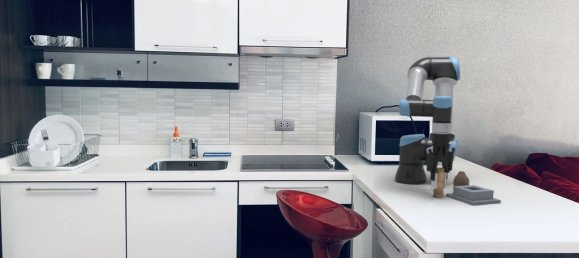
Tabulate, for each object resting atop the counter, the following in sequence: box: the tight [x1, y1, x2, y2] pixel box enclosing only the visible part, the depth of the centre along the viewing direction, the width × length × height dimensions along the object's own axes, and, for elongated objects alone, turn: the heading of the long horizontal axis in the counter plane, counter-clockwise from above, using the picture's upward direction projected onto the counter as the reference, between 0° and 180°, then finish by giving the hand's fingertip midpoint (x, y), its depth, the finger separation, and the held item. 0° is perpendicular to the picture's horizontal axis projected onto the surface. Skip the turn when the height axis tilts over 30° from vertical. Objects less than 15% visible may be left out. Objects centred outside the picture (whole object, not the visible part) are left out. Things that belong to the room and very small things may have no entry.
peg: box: [432, 166, 445, 198], centre depth 190 cm, size 4×4×12 cm
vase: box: [452, 170, 470, 187], centre depth 202 cm, size 7×7×9 cm
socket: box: [445, 184, 502, 206], centre depth 186 cm, size 16×14×5 cm
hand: (438, 187), depth 190 cm, fingers closed on peg, 4 cm apart
